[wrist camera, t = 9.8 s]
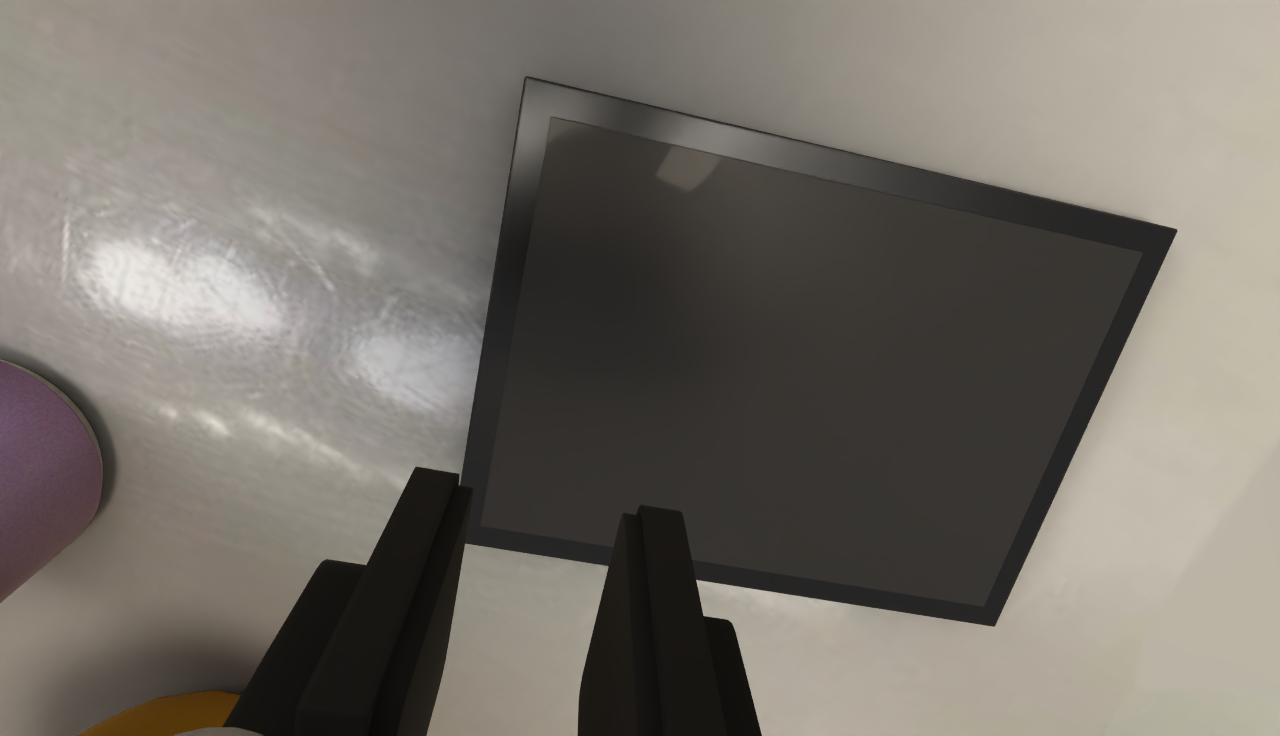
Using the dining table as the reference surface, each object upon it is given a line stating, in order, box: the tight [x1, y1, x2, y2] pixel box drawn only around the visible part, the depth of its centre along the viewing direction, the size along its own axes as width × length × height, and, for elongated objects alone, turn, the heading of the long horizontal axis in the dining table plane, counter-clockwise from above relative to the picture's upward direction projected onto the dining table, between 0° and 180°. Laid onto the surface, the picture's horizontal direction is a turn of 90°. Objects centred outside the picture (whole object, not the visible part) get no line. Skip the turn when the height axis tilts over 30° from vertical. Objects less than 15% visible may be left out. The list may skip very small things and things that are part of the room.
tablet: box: [460, 76, 1177, 627], centre depth 20 cm, size 12×16×1 cm
